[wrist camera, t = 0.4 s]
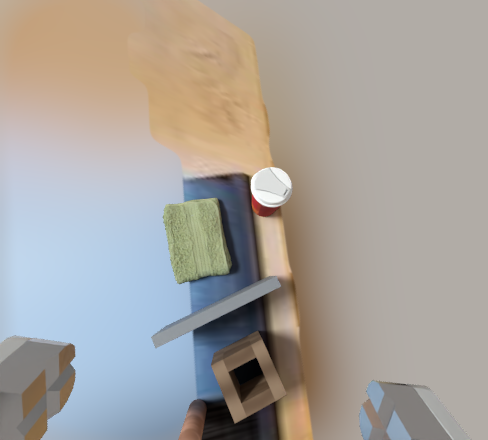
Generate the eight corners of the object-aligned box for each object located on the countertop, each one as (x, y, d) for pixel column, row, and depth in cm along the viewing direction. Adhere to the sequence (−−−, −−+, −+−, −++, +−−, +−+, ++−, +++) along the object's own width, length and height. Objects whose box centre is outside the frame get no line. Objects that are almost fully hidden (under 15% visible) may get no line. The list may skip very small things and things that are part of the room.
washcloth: (218, 197, 62) (217, 192, 59) (233, 272, 59) (234, 272, 56) (162, 208, 61) (158, 204, 58) (174, 285, 58) (170, 286, 55)
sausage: (209, 413, 53) (203, 453, 41) (192, 422, 52) (181, 465, 41) (202, 396, 53) (194, 429, 42) (186, 404, 53) (173, 441, 41)
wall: (272, 284, 58) (281, 286, 49) (169, 335, 55) (155, 348, 46) (268, 276, 59) (276, 276, 49) (165, 326, 56) (151, 336, 46)
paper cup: (286, 200, 63) (301, 178, 49) (269, 227, 61) (280, 213, 47) (257, 183, 63) (264, 156, 49) (240, 209, 62) (242, 190, 48)
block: (279, 377, 55) (287, 394, 47) (234, 402, 53) (234, 423, 45) (257, 330, 56) (262, 339, 48) (214, 352, 55) (211, 365, 47)
